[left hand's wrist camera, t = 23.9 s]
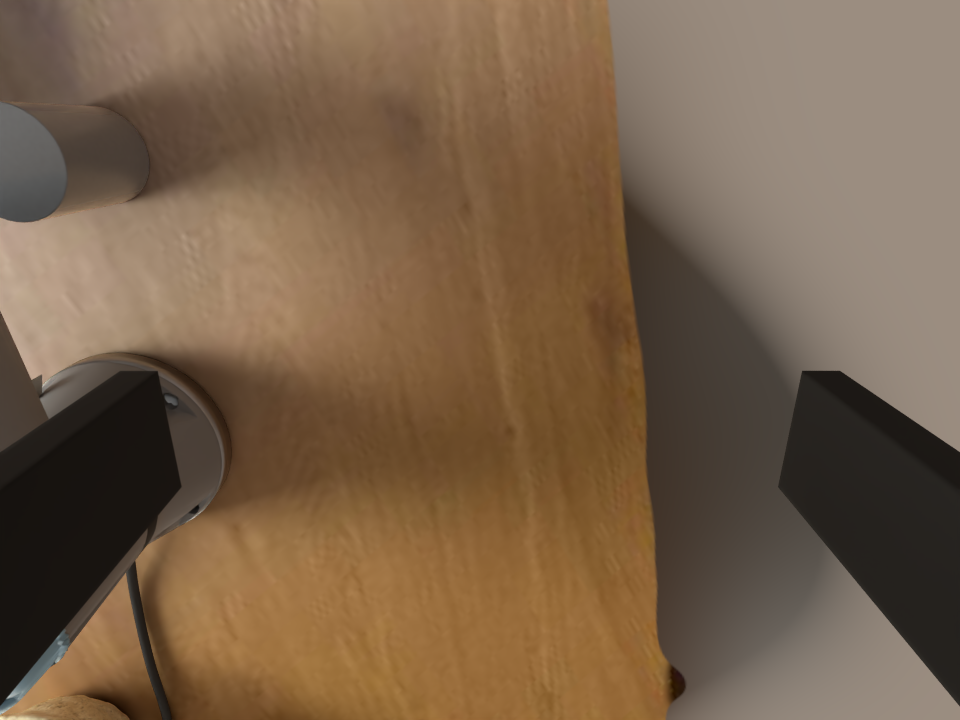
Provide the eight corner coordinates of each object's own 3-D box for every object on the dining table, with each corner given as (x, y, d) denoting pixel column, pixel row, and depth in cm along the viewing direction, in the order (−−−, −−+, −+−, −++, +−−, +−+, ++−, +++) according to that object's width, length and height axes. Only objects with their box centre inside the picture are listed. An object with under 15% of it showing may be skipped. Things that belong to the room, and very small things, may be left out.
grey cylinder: (158, 204, 43) (79, 222, 34) (67, 204, 43) (-33, 222, 34) (139, 105, 41) (50, 100, 32) (44, 105, 41) (-70, 100, 32)
